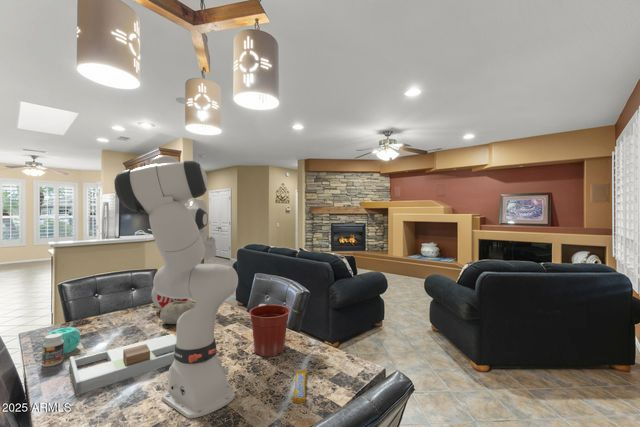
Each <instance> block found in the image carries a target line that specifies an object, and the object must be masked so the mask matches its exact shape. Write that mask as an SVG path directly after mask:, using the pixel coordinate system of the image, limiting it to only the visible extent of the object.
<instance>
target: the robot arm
mask: <svg viewBox="0 0 640 427" xmlns="http://www.w3.org/2000/svg"><path fill="white" fill-rule="evenodd" d="M113 182H114V192H115V195H116V197H117V199H118V200H119V202H120V204H122V206H123V207H125V208H126V209H128V210H130V211H132V212H134V213H137V214H138V215H139V216H142V217H144V216H146V213H147V214H148V221H149V226H150V227H149V228H150V231H151V233H152V237H153V240H154V242H155V244H156V246H157V248H158V250H159V252H160V254H161V256H162V259H163V263H164V265H162V266H161V267H160V268H158V270H156V272H155V274H154V277H153V281H152V284H153V287H154V289H155V291H156V293H157V294H158V295H160V296H164V297H168V298H173V299H189V300H194V301H195V302H194V303H195V307H194V308H192V309H190V310H188V311H186V312H184V313H183V314H182V315H181V316H180V317H179V319H178V321H177V324H176V332H175V333H176V335H175V336H176V344H175V348H174V351H173V352H174V358H175V360H174V362H173V364H170V365H169V366H170V367H169V369H168V373H167V374H168V375H167V386H166V387H167V388H166V391H164V392H163V393H162V395H161V400H162V402H164V403H166V404H167V405H169V406H170V407H171V408H173V409H174V410H176V411H177V412H179V413H180V414H181V415H182V416H184V417H186V418H187V419H195V418H200V417H203V416H206V415H208V414H211V413H213V412H216V411H218V410H219V409H222V408H223V407H225V406H227V405H228V404H230V403H231V402H232V401H233V400H234V399H235V398H236V393H235V391H234V389H233V388H232V386H231V384H230V382H229V381H228V379H227V375H228V374H229V368H228V366H224V367H223V364H222V362H223V360H222V358H219V356H218V353H217V352H218V350H217V343H216V339H215V326H216V317H217V314H218V312H219V310H220V307H221V306H222V304H223V303H224V302H225V301H226V300H227V299H228V298H231V296H232V295H234V293H235V292H236V290H237V288H238V286H239V276H238V273H237V271H236V269H235V268H234V267H233V266H230V265H226V264H220V263H202V261H203V259H211V258H215V257H216V256H217V244H216V239H215V238H214V237H213V236H207V235H208V233H207V232H208V230H207V225H208V221H209V220H208V219H209V218H208V217H209V216H208V210H207V204H206V201H205V200H201V199H197V198H200V197H202V196H204V195H205V193H206V192H207V190H208V182H209V181H208V176H207V173H206V171H205V170H204V168H203V167H202V166H201V164H200V163H199V162H197V161H195V160H183V161H179V160H178V159H177V158H176V157H173V156H172V155H167V154H166V155H158V156H156V157H153V158H152V159H151V160H150V161H149V162H148V164H147V165H145V166H140V167H137V168H133V169H132V168H130V169H126V170H122V171H121V172H119V173H118V174H116V176H115V178H114V181H113Z"/></svg>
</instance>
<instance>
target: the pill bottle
mask: <svg viewBox="0 0 640 427" xmlns="http://www.w3.org/2000/svg"><path fill="white" fill-rule="evenodd" d="M47 335H48V334H47ZM47 335H46V336H45V337H44V339H45V342H46V343H44V344H43V343H42V350H41V351H42V354H41V355H42V358H41V359H42V360H41V365H42V367H53V366H56V365H59V364H61V363H62V362H63V361H64V355H65V354H64V341H63V340H62V333H56V334H51V335H48V336H47Z"/></svg>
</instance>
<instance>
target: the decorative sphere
mask: <svg viewBox="0 0 640 427" xmlns="http://www.w3.org/2000/svg"><path fill="white" fill-rule="evenodd" d="M150 297H151V300H152V302H153V304H154V305H155V306H156V307H157V308H158V309H160V310H162V309H163V308H164V306H165V305H167V304H169V303H171V302H175V301H188V299H173V298H168V297H164V296H160V295H158V294H157V293H156V291H155V289H154V286H153V287H152V290H151V295H150Z"/></svg>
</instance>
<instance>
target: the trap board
mask: <svg viewBox="0 0 640 427" xmlns="http://www.w3.org/2000/svg"><path fill="white" fill-rule="evenodd" d="M144 344H146V345H147V346H148V348H149V350H150V359H149V360H146V361H143V362H139V363H136V364H133V365H129V366H126V367H125V365H124V362H123V350H124V349H128V348H132V347H136V346H140V345H144ZM175 344H176V335H175V334H174V333H171V334H167V335H163V336H158V337H155V338H151V339H147V340H142V341H139V342H135V343H131V344H128V345H124V346H119V347H116V348H115V347H114V348H112V349H107V350H105V351H101V352H97V353H93V354H89V355H86V356H80V357H78V358H75V356H74V355H73V356H70V357H69V371H70V375H71V379H72V383H73V388H74V392H75V396H79V395H82V394H84V393H88V392H90V391H94V390H98V389H100V388H103V387H106V386H108V385H112V384H115V383H118V382H122V381H125V380H127V379H131V378H134V377H137V376H139V375H143V374H145V373H146V374H147V373H149V372H151V371H155V370H158V369H161V368H163V367H164V368H165V367H167V366H171V365H172V364H173V362H174V360H175V358H174V348H175ZM105 359H107V361H106V362H103V363H99V364H95V365H91V366H88V367H85V368H82V369H78V367H80V366H84V365H88V364H91V363H95V362H98V361H99V362H100V361H102V360H105Z"/></svg>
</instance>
